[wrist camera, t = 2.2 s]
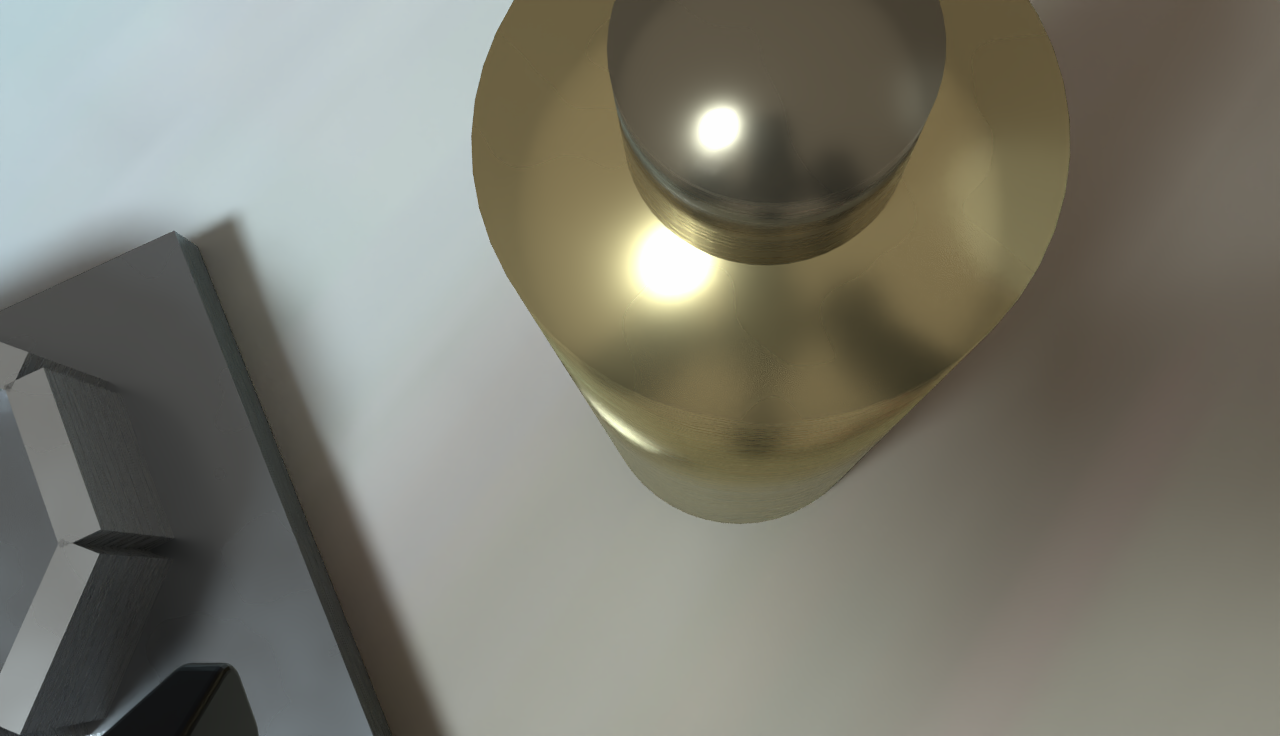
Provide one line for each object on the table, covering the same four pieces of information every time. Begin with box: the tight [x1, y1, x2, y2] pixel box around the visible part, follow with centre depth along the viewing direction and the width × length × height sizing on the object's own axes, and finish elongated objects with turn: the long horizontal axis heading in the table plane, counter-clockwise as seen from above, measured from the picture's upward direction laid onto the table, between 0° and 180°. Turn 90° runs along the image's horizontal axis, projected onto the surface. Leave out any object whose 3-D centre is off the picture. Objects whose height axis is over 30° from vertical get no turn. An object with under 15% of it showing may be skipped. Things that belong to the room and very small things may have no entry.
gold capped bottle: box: [471, 0, 1070, 524], centre depth 15 cm, size 5×5×14 cm
